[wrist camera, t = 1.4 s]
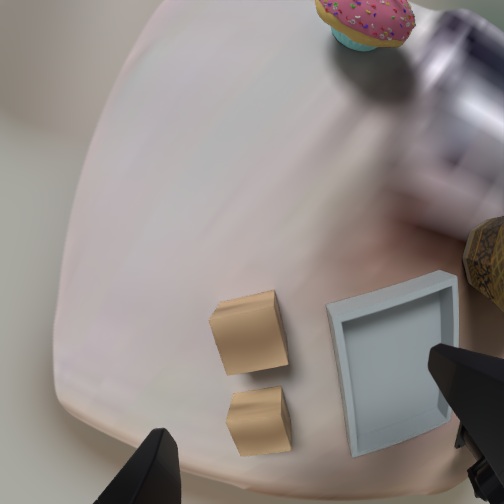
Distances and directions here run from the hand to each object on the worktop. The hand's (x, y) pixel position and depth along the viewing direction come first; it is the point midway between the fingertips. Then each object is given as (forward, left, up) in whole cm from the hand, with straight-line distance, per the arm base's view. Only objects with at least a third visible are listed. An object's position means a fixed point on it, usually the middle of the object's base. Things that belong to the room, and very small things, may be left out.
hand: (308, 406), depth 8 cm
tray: (-10, -8, -15) cm, 20 cm away
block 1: (-2, +3, -15) cm, 16 cm away
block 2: (-11, +5, -15) cm, 19 cm away
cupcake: (+21, -13, -15) cm, 29 cm away
